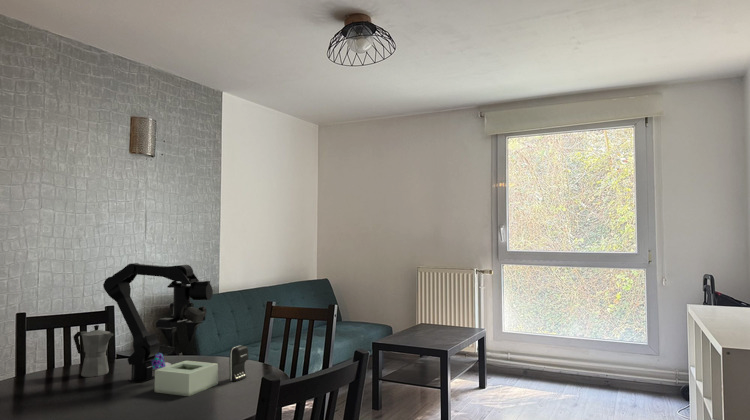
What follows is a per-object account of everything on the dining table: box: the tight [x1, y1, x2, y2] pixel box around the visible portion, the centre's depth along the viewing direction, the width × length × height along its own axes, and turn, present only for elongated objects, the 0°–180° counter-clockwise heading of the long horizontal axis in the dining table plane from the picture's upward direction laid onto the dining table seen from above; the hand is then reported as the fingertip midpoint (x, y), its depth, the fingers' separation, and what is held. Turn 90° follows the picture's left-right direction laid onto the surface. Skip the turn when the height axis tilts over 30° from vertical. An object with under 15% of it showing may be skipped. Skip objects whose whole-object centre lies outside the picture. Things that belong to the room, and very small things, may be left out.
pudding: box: [150, 352, 172, 371], centre depth 196 cm, size 12×12×5 cm
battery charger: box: [229, 345, 249, 382], centre depth 178 cm, size 7×4×11 cm, turn 159°
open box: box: [154, 360, 219, 397], centre depth 167 cm, size 14×14×7 cm
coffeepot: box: [73, 324, 114, 378], centre depth 187 cm, size 15×9×18 cm, turn 85°
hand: (181, 344), depth 177 cm, fingers open, 9 cm apart
